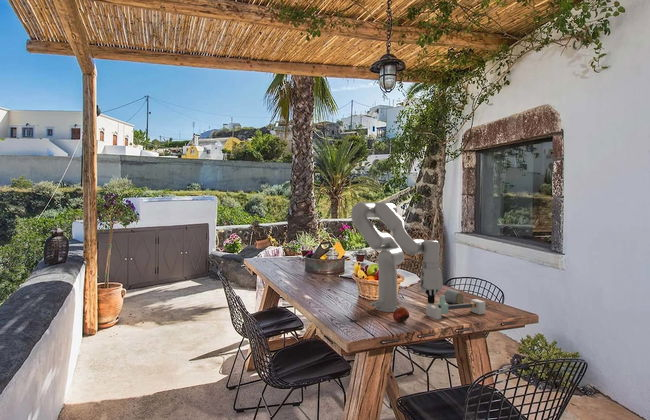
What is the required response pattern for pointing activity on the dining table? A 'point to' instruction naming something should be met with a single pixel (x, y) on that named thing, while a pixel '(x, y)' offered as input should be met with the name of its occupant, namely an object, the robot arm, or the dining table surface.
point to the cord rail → (475, 306)
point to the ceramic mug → (453, 296)
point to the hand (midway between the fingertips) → (431, 303)
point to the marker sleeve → (443, 305)
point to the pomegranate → (400, 314)
